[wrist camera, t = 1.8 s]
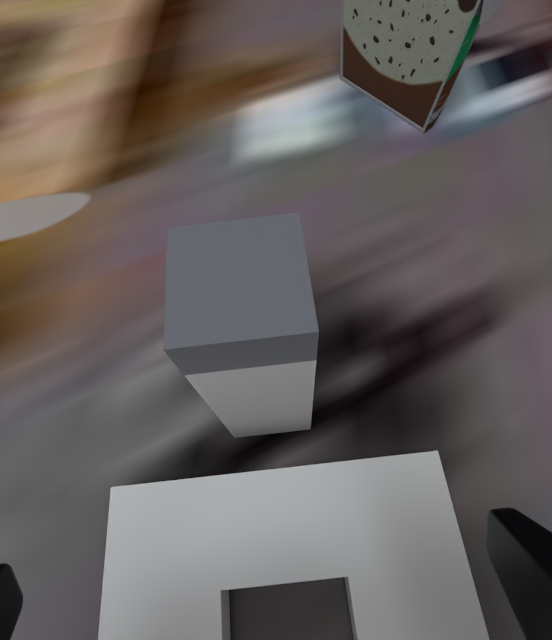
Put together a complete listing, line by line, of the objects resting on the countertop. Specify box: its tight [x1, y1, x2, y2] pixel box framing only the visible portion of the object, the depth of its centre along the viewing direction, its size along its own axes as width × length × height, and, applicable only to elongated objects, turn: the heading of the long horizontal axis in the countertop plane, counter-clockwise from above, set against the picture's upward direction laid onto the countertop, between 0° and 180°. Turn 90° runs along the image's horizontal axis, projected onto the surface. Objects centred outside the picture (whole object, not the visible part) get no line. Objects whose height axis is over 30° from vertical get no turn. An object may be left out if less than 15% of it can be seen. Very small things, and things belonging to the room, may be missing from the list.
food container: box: [340, 0, 503, 134], centre depth 28 cm, size 12×6×10 cm, turn 38°
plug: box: [163, 212, 319, 438], centre depth 16 cm, size 4×4×12 cm
